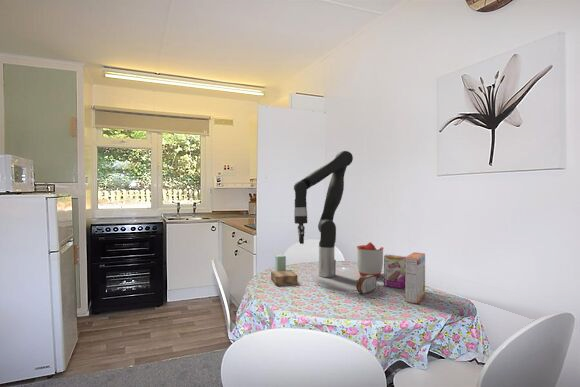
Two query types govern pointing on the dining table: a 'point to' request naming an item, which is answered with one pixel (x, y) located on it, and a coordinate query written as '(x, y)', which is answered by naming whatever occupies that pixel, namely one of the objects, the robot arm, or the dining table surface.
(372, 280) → the tin
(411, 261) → the cracker box
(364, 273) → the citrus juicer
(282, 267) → the green pillar
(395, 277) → the candy bar box
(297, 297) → the dining table surface
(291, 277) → the wooden block
